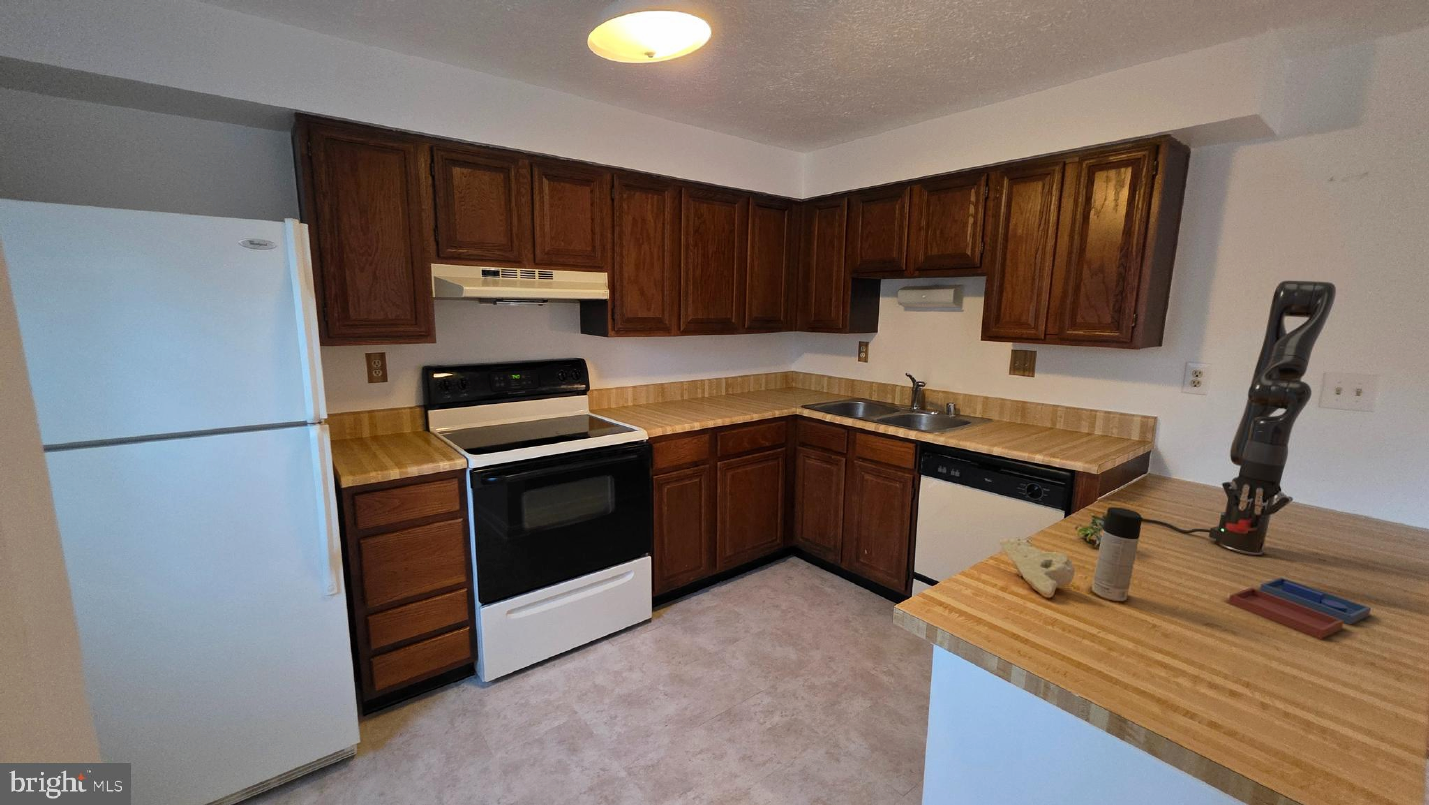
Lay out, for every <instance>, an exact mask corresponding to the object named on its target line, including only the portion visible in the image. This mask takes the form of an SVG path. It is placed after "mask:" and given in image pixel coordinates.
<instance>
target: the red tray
mask: <svg viewBox="0 0 1429 805" xmlns="http://www.w3.org/2000/svg"><path fill="white" fill-rule="evenodd" d="M1228 604H1231V605H1233V606H1236V607H1238V608H1241V609H1243V610H1246V611H1248V612H1251V613H1253V614H1256V615H1259V616H1261V617H1263V618H1266V619H1268V620H1271V621H1273V622H1276V623H1279V624H1281V625H1284V626H1286V627H1289V628H1292V629H1294V630H1297V631H1299V632H1302V633H1304V634H1307V635H1310V636H1312V637H1314V638H1317V639H1319V640H1323V639H1324V638H1327V637H1328V636H1330V635H1333V634H1335V633H1337V632H1339V631H1341V630H1342V629H1343V624H1344V621H1343V620H1340V619H1338V618H1335V617H1332V616H1329V615H1326V614H1324V613H1321V612H1318V611H1315V610H1313V609H1310V608H1307V607H1304V606H1302V605H1299V604H1296V603H1293V602H1290V601H1288V600H1285V599H1282V598H1279V597H1277V596H1274V595H1271V594H1268V593H1266V592H1263V591H1260V589H1257V588H1254V587H1249V588H1246V589H1243V590H1240V591H1238V592H1234V593H1231V594H1230V595H1229V599H1228Z"/></svg>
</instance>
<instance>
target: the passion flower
mask: <svg viewBox="0 0 1429 805" xmlns="http://www.w3.org/2000/svg"><path fill="white" fill-rule="evenodd" d="M1090 516H1091V522H1090V523H1089V524H1088V525H1086V526H1082V524H1081V523H1078V524H1077V525H1076V526H1075V527H1074V529H1075V530H1077V535H1078V536H1081V535H1082V538H1083V539H1086V541H1087V542H1089V541H1090V539H1091V538H1092V537H1094V536H1095V544H1094V546H1092V549H1094V548H1096V547H1097V546H1098V545H1100V543H1101V538H1102V534H1101V533H1100V532H1101V531H1103V527H1104V523H1105V520H1106V516H1107V513H1104V514H1102V515H1099V516H1097V515H1095V514H1094V513H1092V512H1091V514H1090ZM1080 527H1081V528H1080ZM1078 528H1079V529H1078Z"/></svg>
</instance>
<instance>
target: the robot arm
mask: <svg viewBox="0 0 1429 805" xmlns="http://www.w3.org/2000/svg"><path fill="white" fill-rule="evenodd" d="M1274 290H1275V291H1274V292H1273V296H1272V300H1271V304H1270V310H1269V315H1268V320H1267V324H1266V330H1265V334H1264V339H1263V342H1262V346H1261V349H1260V352H1259V356H1258V358H1257V362H1256V365H1255V368H1254V372H1253V376H1252V377H1251V378H1252V379H1251V382H1250V383H1251V384H1250V386H1249V388H1248V391H1247V399H1246V404H1245V407H1244V410H1243V413H1242V416H1241V417H1240V418H1241V419H1240V421H1239V424H1238V426H1237V429H1236V430H1235V431H1236V432H1235V434H1234V437H1233V439H1232V443H1231V445H1230V452H1229V457H1230V461H1231V463H1232V464H1233V465H1235V466H1240V467H1239V471H1238V476H1236V477H1234V478H1232V479H1231V481H1225V482H1222V483H1221V487H1222V488H1223V491H1224V492H1225V496H1226V497H1227V501H1226V506H1225V510H1224V511H1223V512H1221V514H1220V518H1219V523H1218V525H1217V526H1213V527H1210V528H1209V529H1208V528H1192V529H1188V530H1187V529H1183V528H1180V527H1178V526H1175V525H1173V524H1171V523H1168V522H1164V521H1161V520H1156V519H1150V518H1144V517H1142V522H1144V523H1145V522H1146V523H1152V524H1157V525H1161V526H1165V527H1168V528H1171V529H1172V530H1174V531H1176V532H1179V533H1183V534H1193V533H1198V532H1200V533H1209V534H1208V538H1209V539H1213V540H1214V541H1215V542H1214V544H1215V545H1218V546H1220V547H1222V548H1224V549H1227V550H1229V551H1231V552H1235V553H1238V554H1239V553H1240V554H1243V555H1250V556H1262V555H1263V549H1265V546H1266V537H1267V533H1268V529H1269V524H1270V519H1271V515H1274V514H1276V513H1278V512H1279V511H1280V510H1282V509H1283V508H1285V507H1286V506H1287V505H1288V504H1290V503H1292V502H1293V501H1294V500H1293V499H1294V498H1293V497H1292V496H1288V495H1286V494H1285V493H1284V492H1283V491H1282V487H1281V481H1282V479H1283V478H1282V477H1283V473H1284V469H1285V466H1286V464H1287V460H1288V456H1289V443H1290V438H1291V433H1292V431H1293V427H1294V425H1295V422H1296V420H1297V419H1298V417H1299V416H1300V414H1301V413H1302V411H1303V410H1304V409H1305V407H1306V406H1307V404H1308V403H1309V401H1310V399H1311V397H1312V387H1311V386H1310V385H1309V384H1308V383H1307V382H1305V381H1302V378H1303V377H1304V376H1305V375H1306V373H1307V370H1308V366H1309V363H1310V359H1311V355H1312V353H1313V348H1314V346H1315V344H1316V342H1317V340H1318V338H1319V336H1320V334H1321V333H1322V330H1323V329H1324V327H1325V324H1326V322H1327V320H1328V318H1329V316H1330V313H1331V311H1332V309H1333V306H1334V303H1335V299H1336V294H1337V288H1336V285H1335V284H1334V283H1332V282H1329V281H1315V280H1314V281H1313V280H1312V281H1311V280H1283V281H1280V283H1279V284H1278V285H1277V286H1276V288H1275V289H1274ZM1286 317H1288V318H1289V317H1290V318H1303V319H1304V318H1306V319H1307V320H1305V321H1304V322H1303V323H1302V324H1300V325H1299V326H1297V327H1296V328H1294V329H1292V330H1291V331H1290V332H1289V331H1288V333H1287V330H1286V325H1285V318H1286ZM1282 409H1283V410H1285V411H1284V412H1283V413H1282V414H1279V415H1273V414H1274V413H1275V412H1277V411H1278V410H1282ZM1275 501H1276V502H1275ZM1243 519H1252V520H1251V526H1250V528H1253V529H1256V528H1257V529H1256V530H1251V531H1248V532H1247V534H1242V533H1237V532H1234V531H1230V530H1228V529H1226V524H1227V523H1232V524H1238V521H1239V520H1243Z"/></svg>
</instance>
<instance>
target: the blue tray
mask: <svg viewBox="0 0 1429 805" xmlns="http://www.w3.org/2000/svg"><path fill="white" fill-rule="evenodd" d="M1286 581H1287V582H1290V583H1293V584H1296V585H1299V586H1302V587H1305V588H1308V589H1311V590H1314V591H1317V592H1320V593H1323V594H1324V597H1323V599H1327V600H1332V601H1336V602H1339V603H1341V604H1343V605H1345V606H1347V610H1346V613H1344V612H1341V611H1338V610H1336V609H1333V608H1330V607H1327V606H1324V605H1321V604H1319V603H1316V602H1313V601H1310V600H1307V599H1304V598H1302V597H1299V596H1296V595H1293V594H1290V593H1287V592H1284V591H1282V587H1283V583H1284V582H1286ZM1259 590H1260V591H1263V592H1266V593H1268V594H1271V595H1274V596H1277V597H1279V598H1282V599H1285V600H1288V601H1290V602H1293V603H1296V604H1299V605H1302V606H1304V607H1307V608H1310V609H1313V610H1315V611H1318V612H1321V613H1324V614H1326V615H1329V616H1332V617H1335V618H1338V619H1340V620H1343V621H1344V622H1343V624H1348V625H1351V626H1352V625H1354V624H1355V623H1358V622H1359V621H1361V620H1363V619H1366V618H1368V617H1369V616H1370V613H1371V609H1372V608H1371V607H1370V606H1367V605H1364V604H1362V603H1358V602H1356V601H1352V600H1349V599H1346V598H1343V597H1340V596H1338V595H1335V594H1331V593H1328V592H1325V591H1322V590H1319V589H1317V588H1314V587H1311V586H1308V585H1305V584H1301V583H1299V582H1296V581H1292V580H1289V579H1286V578H1284V577H1277V578H1275V579H1272V580H1269V581H1266V582H1264V583H1261V584H1260V588H1259Z"/></svg>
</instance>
